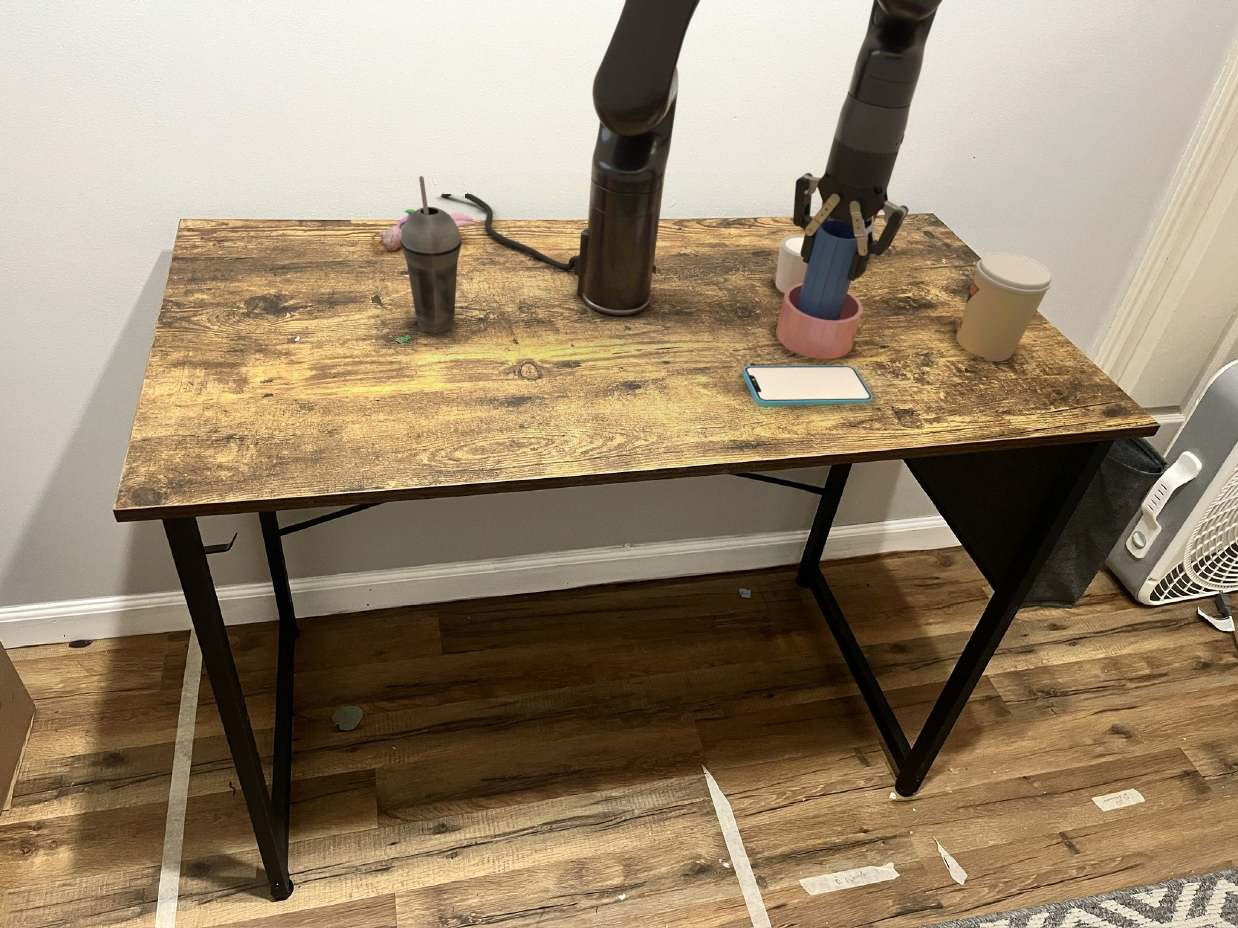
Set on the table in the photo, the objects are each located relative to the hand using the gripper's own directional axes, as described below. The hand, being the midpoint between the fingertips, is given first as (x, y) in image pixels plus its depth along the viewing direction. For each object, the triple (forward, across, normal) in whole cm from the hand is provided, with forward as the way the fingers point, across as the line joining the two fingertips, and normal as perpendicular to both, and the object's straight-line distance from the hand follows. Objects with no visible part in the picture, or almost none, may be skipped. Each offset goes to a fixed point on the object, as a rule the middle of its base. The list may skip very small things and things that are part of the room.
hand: (830, 269), depth 112 cm
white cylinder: (+11, -8, +11) cm, 17 cm away
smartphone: (+11, +4, -11) cm, 16 cm away
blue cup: (+7, 0, 0) cm, 7 cm away
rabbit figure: (+12, -56, -15) cm, 59 cm away
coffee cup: (+11, +19, +15) cm, 27 cm away
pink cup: (+11, 0, 0) cm, 11 cm away
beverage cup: (+12, -40, -30) cm, 51 cm away
